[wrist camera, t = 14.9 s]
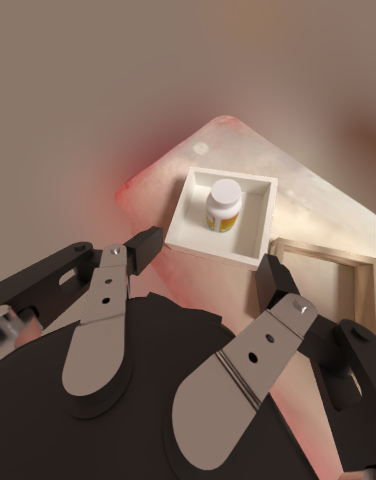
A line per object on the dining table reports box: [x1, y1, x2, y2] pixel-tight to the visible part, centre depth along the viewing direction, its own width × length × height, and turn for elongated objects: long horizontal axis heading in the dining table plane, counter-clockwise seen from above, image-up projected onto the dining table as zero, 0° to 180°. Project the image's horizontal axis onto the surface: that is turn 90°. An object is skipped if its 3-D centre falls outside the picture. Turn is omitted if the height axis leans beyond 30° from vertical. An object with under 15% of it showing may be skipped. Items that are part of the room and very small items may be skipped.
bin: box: [165, 167, 278, 271], centre depth 28 cm, size 16×16×5 cm
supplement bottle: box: [206, 179, 242, 233], centre depth 24 cm, size 5×5×10 cm
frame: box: [270, 238, 376, 335], centre depth 23 cm, size 14×14×3 cm
